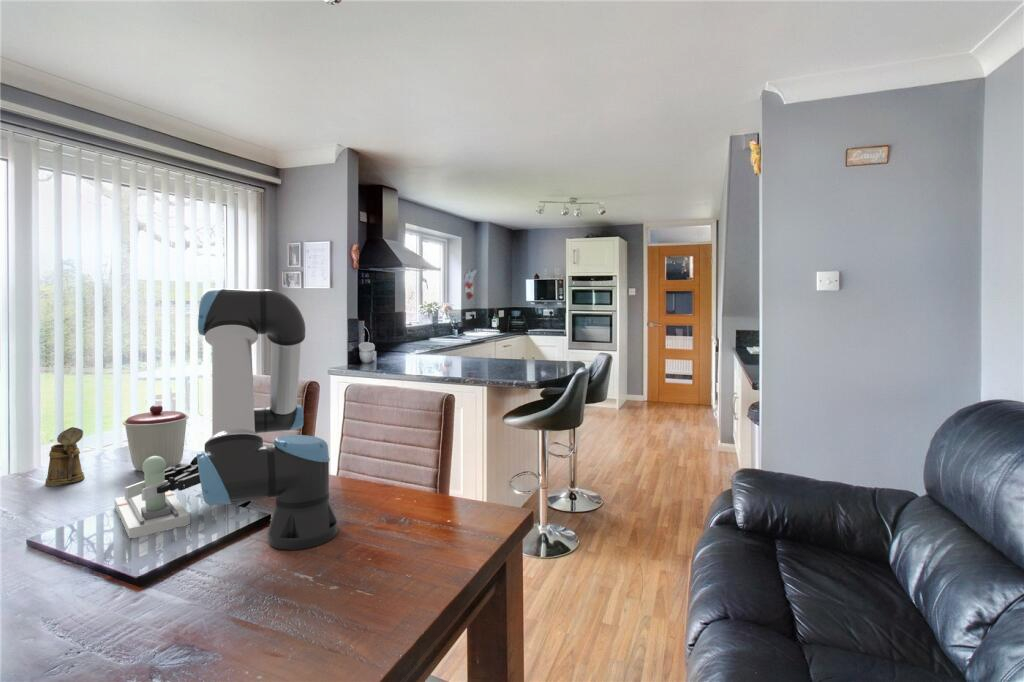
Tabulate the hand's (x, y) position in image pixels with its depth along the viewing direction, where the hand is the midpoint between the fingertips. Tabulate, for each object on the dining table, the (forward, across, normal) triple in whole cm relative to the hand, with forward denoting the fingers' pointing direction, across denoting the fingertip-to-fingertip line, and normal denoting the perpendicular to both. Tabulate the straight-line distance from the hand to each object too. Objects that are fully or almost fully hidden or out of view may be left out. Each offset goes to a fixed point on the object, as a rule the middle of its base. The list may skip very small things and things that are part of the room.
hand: (134, 494), depth 121 cm
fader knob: (-5, 0, -7) cm, 9 cm away
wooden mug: (-25, +53, -10) cm, 59 cm away
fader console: (-10, +6, -10) cm, 15 cm away
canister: (-44, +39, -10) cm, 60 cm away
